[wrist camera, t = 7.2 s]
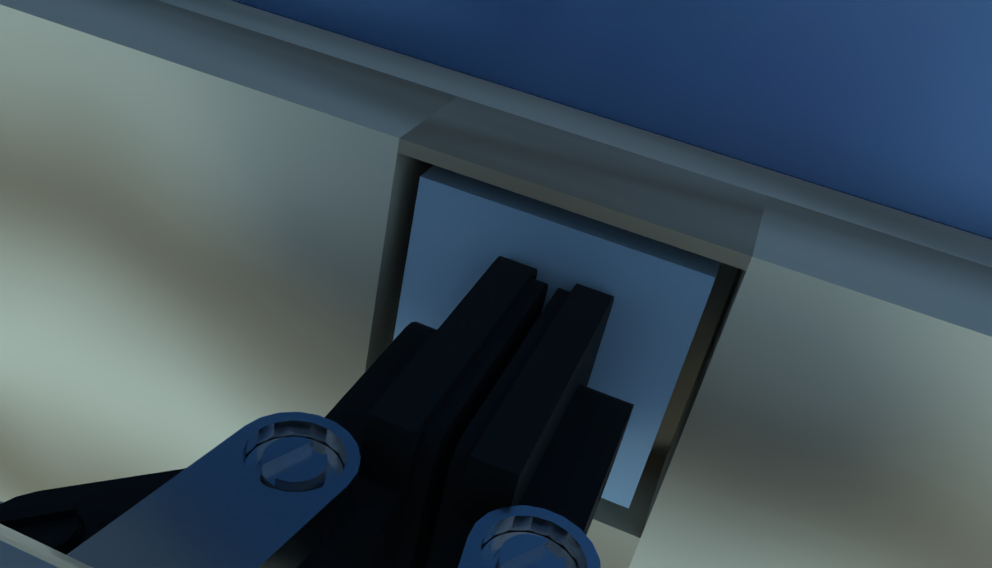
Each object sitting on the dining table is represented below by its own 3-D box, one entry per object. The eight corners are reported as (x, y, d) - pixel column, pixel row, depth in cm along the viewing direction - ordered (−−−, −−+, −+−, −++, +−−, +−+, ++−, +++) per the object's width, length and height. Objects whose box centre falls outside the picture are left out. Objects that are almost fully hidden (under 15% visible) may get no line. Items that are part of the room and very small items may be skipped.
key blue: (462, 141, 13) (419, 176, 12) (730, 230, 12) (715, 278, 11) (421, 359, 15) (381, 409, 14) (648, 448, 14) (629, 508, 13)
